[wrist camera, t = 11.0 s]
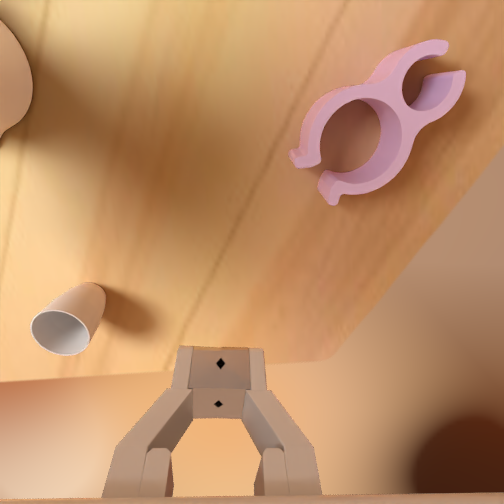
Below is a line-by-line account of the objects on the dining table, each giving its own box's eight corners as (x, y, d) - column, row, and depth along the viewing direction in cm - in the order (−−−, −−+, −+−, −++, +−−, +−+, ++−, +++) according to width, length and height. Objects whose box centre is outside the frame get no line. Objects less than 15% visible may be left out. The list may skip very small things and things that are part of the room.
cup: (67, 311, 56) (33, 352, 47) (64, 270, 53) (26, 306, 44) (115, 317, 57) (90, 358, 48) (115, 277, 54) (88, 314, 44)
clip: (397, 20, 39) (426, 6, 33) (449, 102, 43) (483, 103, 37) (274, 141, 45) (279, 148, 39) (330, 204, 49) (342, 219, 43)
